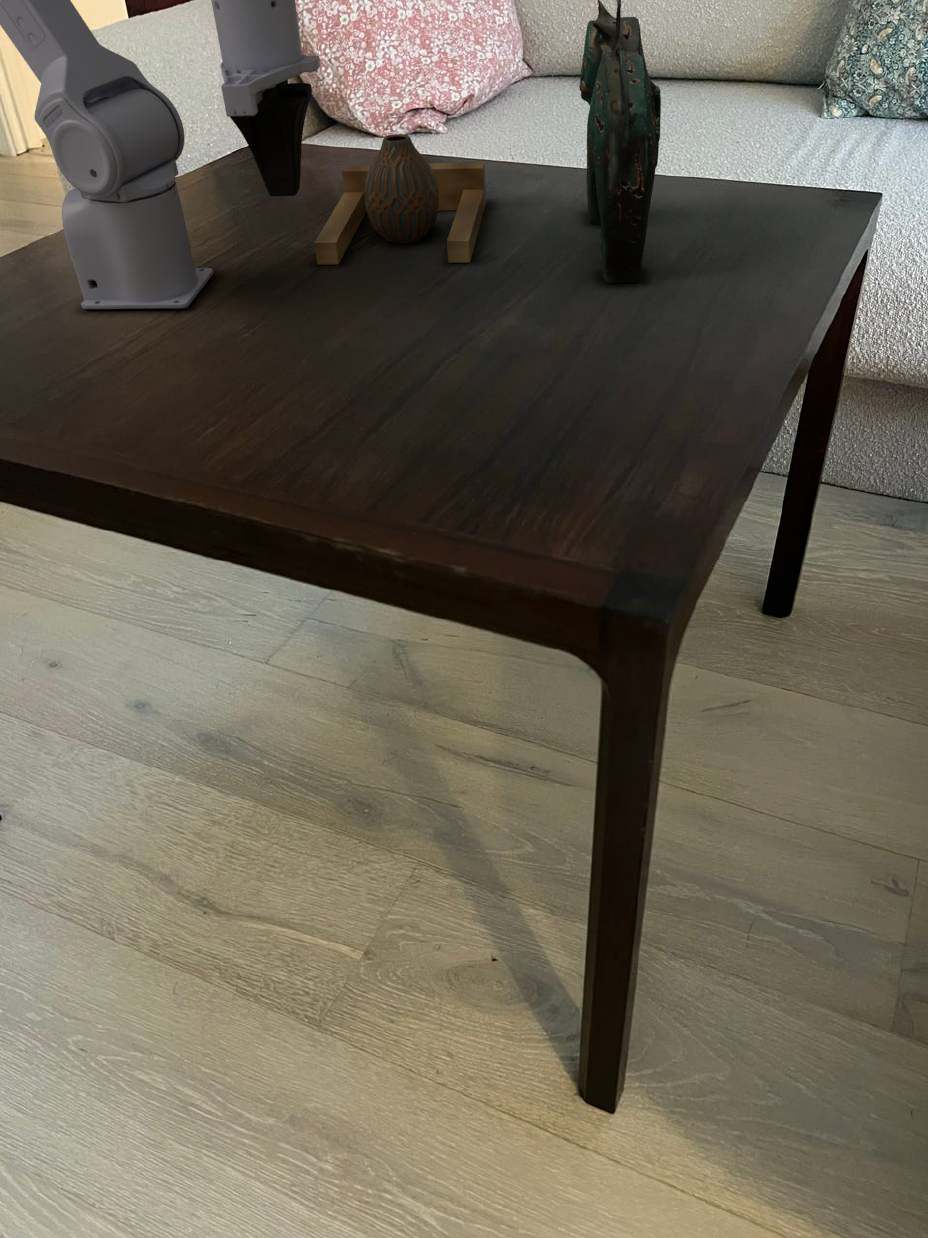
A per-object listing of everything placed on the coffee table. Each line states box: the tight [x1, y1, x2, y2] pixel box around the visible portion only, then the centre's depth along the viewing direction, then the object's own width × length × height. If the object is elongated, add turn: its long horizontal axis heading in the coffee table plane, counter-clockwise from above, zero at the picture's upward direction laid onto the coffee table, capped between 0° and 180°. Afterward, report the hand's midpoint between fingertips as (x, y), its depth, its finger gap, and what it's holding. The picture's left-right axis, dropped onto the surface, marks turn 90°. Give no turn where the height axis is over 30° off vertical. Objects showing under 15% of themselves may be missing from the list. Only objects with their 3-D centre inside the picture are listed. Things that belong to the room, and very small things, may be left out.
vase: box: [364, 133, 439, 244], centre depth 94 cm, size 7×7×9 cm
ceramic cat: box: [578, 0, 662, 284], centre depth 86 cm, size 20×6×20 cm, turn 178°
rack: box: [313, 161, 487, 266], centre depth 96 cm, size 14×16×4 cm
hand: (284, 193), depth 78 cm, fingers closed
